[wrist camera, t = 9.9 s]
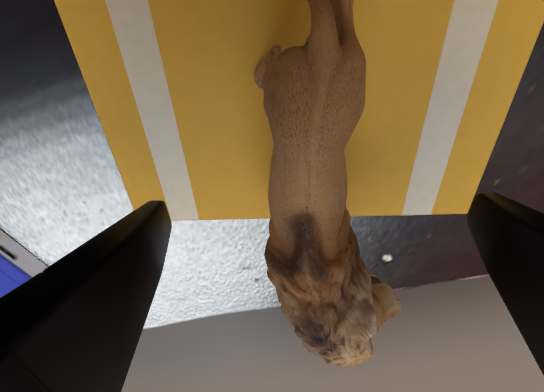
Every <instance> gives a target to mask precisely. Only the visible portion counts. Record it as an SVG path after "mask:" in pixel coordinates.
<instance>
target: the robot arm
mask: <svg viewBox="0 0 544 392" xmlns="http://www.w3.org/2000/svg"><path fill="white" fill-rule="evenodd" d="M467 223H468V226H469V228H470V231H471V233H472V236H473V238H474V241H475V243H476V246H477V248H478V251H479V253H480V255H481V258H482V260H483V263H484V265H485V267H486V269H487V271H488V273H489V275H490V277H491V279H492V281H493V283H494V284H495V286H496V288H497V290H498V292H499V294H500V296H501V297H502V299H503V301H504V303H505V305H506V307H507V309H508V310H509V312H510V314H511V316H512V318H513V319H514V321H515V323H516V325H517V327H518V329H519V331H520V332H521V334H522V336H523V338H524V340H525V342H526V344H527V345H528V347H529V349H530V351H531V353H532V355H533V356H534V358H535V360H536V362H537V364H538V366H539V368H540V369H541V371H542V373H543V375H544V214H543V213H541V212H539V211H536V210H534V209H532V208H530V207H527V206H525V205H523V204H520V203H518V202H516V201H514V200H511V199H509V198H507V197H505V196H502V195H500V194H498V193H495V192H479V193H477V194H476V195H475V197H474V200H473V202H472V205H471V207H470V210H469V212H468V215H467ZM171 227H172V226H171V220H170V216H169V213H168V210H167V206H166V204H165V202H164V201H162V200H151V201H148V202H147V203H145V204H144V205H142V206H141V207H139V208H138V209H136V210H134V211H133V212H131V213H130V214H128V215H127V216H125V217H124V218H122V219H121V220H119V221H118V222H116V223H115V224H113V225H112V226H110V227H109V228H107V229H105V230H104V231H102V232H101V233H99V234H98V235H96V236H95V237H93V238H92V239H90V240H89V241H87V242H86V243H84V244H83V245H81V246H79V247H78V248H76V249H75V250H73V251H72V252H70V253H69V254H67V255H66V256H64V257H63V258H61V259H60V260H58V261H57V262H55V263H54V264H52V265H50V266H49V267H47V268H46V269H44V270H43V272H42V273H41V272H40V273H38V274H37V275H35V276H34V277H32V278H31V279H29V280H28V281H26V282H25V283H23V284H21V285H20V286H18V287H17V288H15V289H13V290H12V291H10V292H9V293H7V294H6V295H4V296H2V297H1V298H0V392H121V390H122V387H123V384H124V382H125V379H126V376H127V373H128V370H129V367H130V364H131V361H132V358H133V355H134V353H135V350H136V347H137V344H138V341H139V338H140V335H141V332H142V329H143V326H144V324H145V321H146V318H147V315H148V312H149V309H150V306H151V303H152V300H153V297H154V295H155V292H156V289H157V286H158V283H159V280H160V277H161V274H162V270H163V266H164V261H165V256H166V252H167V247H168V242H169V238H170V233H171Z"/></svg>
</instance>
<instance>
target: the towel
mask: <svg viewBox="0 0 544 392" xmlns="http://www.w3.org/2000/svg"><path fill="white" fill-rule="evenodd" d="M54 2H55V4H56V7H57V9H58V12H59V15H60V17H61V20H62V23H63V25H64V28H65V30H66V33H67V36H68V38H69V41H70V44H71V46H72V49H73V51H74V54H75V57H76V59H77V62H78V65H79V67H80V70H81V72H82V75H83V78H84V80H85V83H86V86H87V88H88V91H89V93H90V96H91V99H92V101H93V104H94V107H95V109H96V112H97V114H98V117H99V120H100V122H101V125H102V128H103V130H104V133H105V135H106V138H107V141H108V143H109V146H110V149H111V151H112V154H113V156H114V159H115V162H116V164H117V167H118V170H119V172H120V175H121V177H122V180H123V183H124V185H125V188H126V190H127V193H128V196H129V198H130V201H131V204H132V206H133V209H134V210H136V209H138V208H139V207H141V206H142V205H144V204H145V203H147V202H148V201H151V200H162V201H164V202H165V204H166V206H167V210H168V213H169V216H170V220H172V221H178V220H212V219H255V218H271V217H270V210H269V202H268V186H269V178H270V169H271V158H272V154H273V149H274V141H273V137H272V133H271V129H270V125H269V120H268V117H267V115H266V113H265V110H264V105H263V98H264V91H263V88H259V87H258V85H257V84H256V82H255V80H254V73H255V70H256V68H257V66H258V64H259V62H260V61H261V60H262V59H263V58H265V57H266V55H267V54H268V52H269V51H270V49H271V48H272V47H273V46H274V45H279V46H280V47H281V48H282V50H283V51H284V50H285V49H287V48H289V47H293V46H303V45H305V42H306V39H307V37H308V36H309V35H310V30H311V11H310V7H309V4H308V1H307V0H54ZM353 20H354V28H355V33H356V36H357V38H358V41H359V43H360V45H361V47H362V50H363V52H364V54H365V58H366V91H365V106H364V110H363V113H362V115H361V117H360V119H359V121H358V123H357V125H356V127H355V129H354V131H353V133H352V135H351V137H350V138H349V140H348V142H347V144H346V147H345V149H344V154H345V162H346V172H347V199H346V208H347V210H348V211H349V213H350V216H384V215H431V214H466V213H468V210H469V208H470V205H471V203H472V200H473V197H474V195H475V192H476V190H477V187H478V185H479V182H480V180H481V177H482V175H483V172H484V170H485V167H486V165H487V162H488V160H489V157H490V155H491V152H492V150H493V147H494V145H495V142H496V140H497V137H498V135H499V132H500V130H501V127H502V125H503V122H504V120H505V117H506V115H507V112H508V110H509V107H510V105H511V102H512V100H513V97H514V95H515V92H516V90H517V87H518V85H519V82H520V80H521V77H522V75H523V72H524V70H525V67H526V65H527V62H528V60H529V57H530V55H531V52H532V50H533V47H534V45H535V42H536V40H537V37H538V35H539V32H540V30H541V27H542V25H543V22H544V0H354V1H353Z"/></svg>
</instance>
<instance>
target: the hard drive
mask: <svg viewBox="0 0 544 392" xmlns="http://www.w3.org/2000/svg"><path fill="white" fill-rule="evenodd" d="M47 267H48V266H46V265H45V264H44V263H43V262H41V261H40V260H38V259H37V258H36V257H35V256H33V255H32V254H31V253H29V252H28V251H27V250H26V249H24V248H23V247H22V246H21V245H20V244H18V243H17V242H15V241H14V240H13V239H12V238H10V237H9V236H8V235H6V234H5V233H4V232H3V231H1V230H0V298H1V297H2V296H4V295H6V294H7V293H9V292H10V291H12V290H13V289H15V288H17V287H18V286H20V285H21V284H23V283H25V282H26V281H28V280H29V279H31V278H32V277H34V276H35V275H37V274H38V273H40V272H41V273H42V272H43V270H44V269H46V268H47Z"/></svg>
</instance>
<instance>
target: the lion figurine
mask: <svg viewBox="0 0 544 392" xmlns="http://www.w3.org/2000/svg"><path fill="white" fill-rule="evenodd" d="M307 1H308V4H309V7H310V11H311V30H310V35H309V36H308V37H307V39H306V42H305V45H303V46H293V47H289V48H287V49H285V50H284V51H283V50H282V48H281V47H280V46H279V45H274V46H273V47H272V48H271V49H270V51H269V52H268V54H267V55H266V57H265V58H263V59H262V60H261V61H260V62H259V64H258V66H257V68H256V70H255V73H254V80H255V82H256V84H257V85H258V87H259V88H263V91H264V98H263V105H264V110H265V113H266V115H267V117H268V120H269V125H270V129H271V133H272V137H273V141H274V149H273V154H272V158H271V169H270V178H269V186H268V202H269V210H270V217H271V219H270V222H269V233H270V236H269V238H268V240H267V244H266V248H265V254H264V255H265V259H266V264H267V267H268V271H267V275H268V278H269V279H270V281H271V282H272V283H273V284H274V286H275V287H276V291H277V295H278V300H279V302H280V303H281V309H282V312H283V314H284V315H285V317H286V319H288V320H289V321H290V322H291V324H292V325H293V326H294V327H295V333H296V335H297V336H298V337H299V338H301V340H302V343H303V345H304V347H305V348H306V349H307V350H308V351H309V352H311V353H314V354H315V355H317V356H319V357H321V358H323V359H324V360H325V361H326V363H327V364H329V365H331V364H335V365H337V366H352V365H358V364H359V363H360V362H364V361H366V360H369V359H371V358H372V356H373V346H372V343H371V338H372V337H373V336H374V335H375V334H376V333H377V331H378V330H379V328H380V326H381V325H382V324H383V323H384V322H385V321H386V320H388V319H389V318H391V317H393V316H394V315H396V314H397V313H398V312H399V311H400V310H401V308H402V304H401V302H400V300H399V299H398V298H397V296H396V293H395V291H394V290H393V289H392V288H391V287H390V286H389V285H387V284H386V283H381V282H380V281H379V279H378V278H377V277H376V276H375V275H370V274H369V273H368V271H367V270H366V268H365V265H364V262H363V260H362V259H361V257H360V251H359V247H358V242H357V238H356V235H355V233H354V232H353V230H352V228H351V226H350V213H349V211H348V210H347V208H346V199H347V172H346V162H345V154H344V149H345V147H346V144H347V142H348V140H349V138H350V137H351V135H352V133H353V131H354V129H355V127H356V125H357V123H358V121H359V119H360V117H361V115H362V113H363V110H364V106H365V91H366V58H365V54H364V52H363V50H362V47H361V45H360V43H359V41H358V38H357V36H356V33H355V28H354V20H353V1H354V0H307Z"/></svg>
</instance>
